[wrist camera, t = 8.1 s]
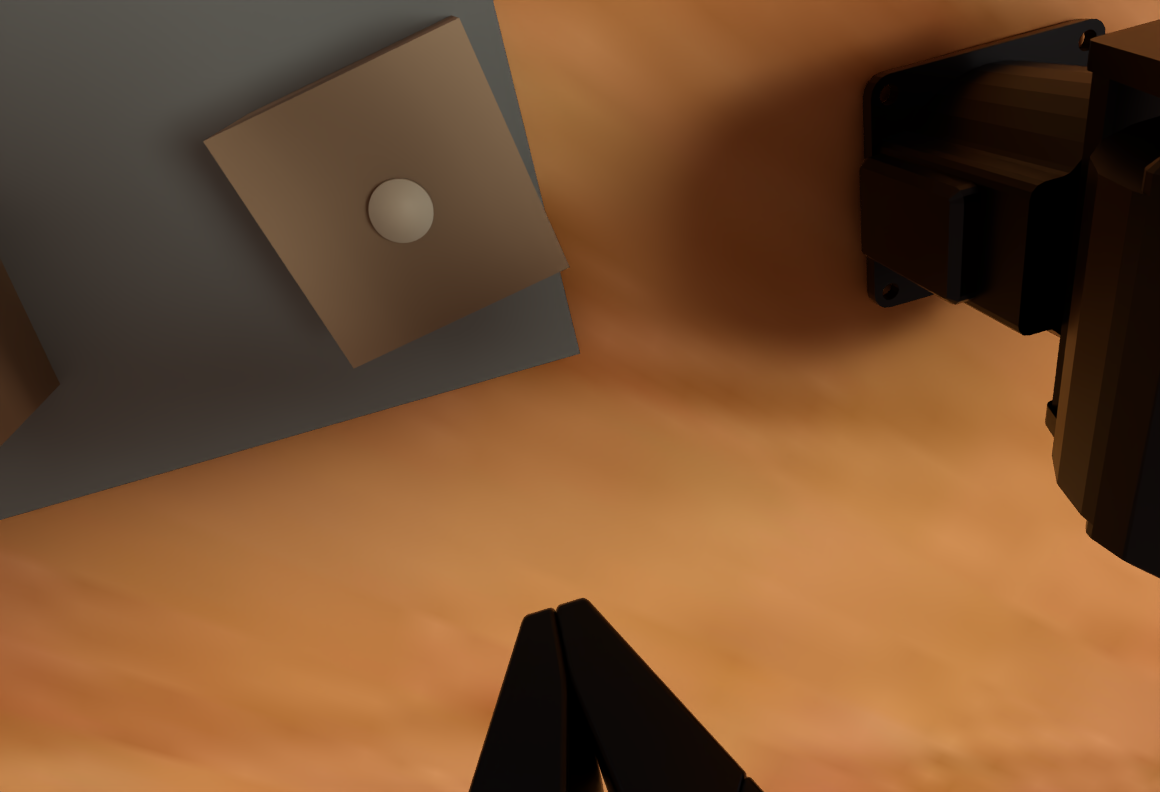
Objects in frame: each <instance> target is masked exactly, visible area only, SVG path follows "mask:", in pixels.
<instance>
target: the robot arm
mask: <svg viewBox="0 0 1160 792" xmlns="http://www.w3.org/2000/svg"><path fill="white" fill-rule="evenodd" d="M1083 33H1084V35H1085V38H1084V41H1083V44H1082V45H1081V46H1080V47H1079V40H1080V37H1081V36H1082V34H1083ZM886 85H889V88H890V93H889V97H888V98H887V99H886V101H884V102H881V100H880V94H881V91H882V89H883V88H884V86H886ZM863 127H864V161H863V163H862V165H861V167H860V170H859V173H860V208H861V244H862V252H863V253H864V254H865V255H866V256H867V291H868V296H869V298H870V299H871V300H872V301H873V302H875V303H876V304H878V305H879V306H882V307H885V308H886V307H893V306H896V305H899V304H903V303H906V302H910V301H913V300H917V299H920V298H924V297H927V296H930V295H934V294H935V295H937V296H938V297H940V298H942V299H944V300H945V301H947V302H949V303H951V304H955V305H956V304H959V303H965V304H967V305H969V306H971V307H973V308H974V309H976V310H978V311H980V312H982V313H984V314H985V315H987V316H989V317H991V318H993V319H995V320H996V321H998V322H1000V323H1002V324H1004V325H1005V326H1007V327H1009V328H1011V329H1013V330H1015V331H1016V332H1018V333H1020V334H1022V335H1032V334H1036V333H1039V332H1042V331H1046V330H1047V331H1049V332H1050V333H1052V334H1054V335H1056V336H1058V337H1060V343H1059V352H1058V360H1057V368H1056V376H1055V384H1054V393H1053V400H1052V401H1049V402H1048V404H1047V410H1046V418H1045V424H1046V426H1047V428H1048V429H1049V431H1050V432H1051V434H1052V435H1053V437H1054V442H1053V450H1052V459H1053V464H1054V470H1055V475H1056V481H1057V484H1058V486H1059V487H1060V488H1061V490H1062V491H1063V492H1064V493H1065V495H1066V496H1067V497H1068V499H1069V500H1070V501H1071V503H1072V504H1073V505H1074V507H1075V508H1076V509H1077V510H1078V512H1079V513H1080V514H1081V515H1082V516H1083V517H1084V518H1085V519H1086V520H1087V522H1086V533H1087V534H1088V535H1089V537H1090V538H1091V539H1093V540H1094V541H1096V542H1097V543H1099V544H1100V545H1102V546H1103V547H1104V548H1106V549H1107V550H1109V551H1110V552H1112V553H1113V554H1115V555H1116V556H1118V557H1119V558H1120V559H1122V560H1124V561H1125V562H1127V563H1129V564H1131V565H1133V566H1135V567H1137V568H1139V569H1141V570H1143V571H1145V572H1147V573H1149V574H1152V575H1154V576H1156V577H1158V578H1160V20H1156V21H1153V22H1149V23H1145V24H1142V25H1138V26H1134V27H1130V28H1127V29H1123V30H1119V31H1116V32H1112V33H1108V34H1105V27H1104V25H1103V23H1102V22H1101V21H1099V20H1098V19H1076V20H1072V21H1069V22H1065V23H1061V24H1058V25H1054V26H1050V27H1047V28H1043V29H1039V30H1036V31H1032V32H1028V33H1024V34H1021V35H1017V36H1013V37H1010V38H1006V39H1002V40H999V41H995V42H991V43H988V44H984V45H980V46H976V47H973V48H969V49H965V50H962V51H958V52H954V53H951V54H947V55H943V56H939V57H936V58H932V59H928V60H925V61H921V62H917V63H914V64H910V65H906V66H903V67H899V68H895V69H891V70H888V71H884V72H880V73H878V74H876V75H874V76H873V77H872V78H871V79H870V80H869V81H868V83H867V85H866V87H865V89H864V93H863ZM890 283H891V289H890V290H889V291H888V293H886V294H884V295H883V290H884V288H885V287H886V286H887V285H889V284H890ZM599 767H600V769H599ZM600 770H601V773H602V776H603V779H604V782H605V785H606V787H607V790H608V792H764V791H763V790H762V789H761V788H760V787H759V786H758V785H757V784H756V783H755V782H754V780H753V779H752V778H750V777H747V776H746V773H745V771H744V770H743V769H742V768H741V767H740V766H739V765H738V763H737V762H736V761H735V760H734V759H733V758H732V757H731V756H730V755H729V754H728V752H727V751H726V750H725V749H724V748H723V747H722V746H721V745H720V744H719V743H718V742H717V740H716V739H715V738H714V737H713V736H712V735H711V734H710V733H709V732H708V731H707V729H706V728H705V727H704V726H703V725H702V724H701V723H700V722H699V721H698V720H697V719H696V717H695V716H694V715H693V714H692V713H691V712H690V711H689V710H688V709H687V708H686V706H685V705H684V704H683V703H682V702H681V701H680V700H679V699H678V698H677V697H676V696H675V694H674V693H673V692H672V691H671V690H670V689H669V688H668V687H667V686H666V685H665V683H664V682H663V681H662V680H661V679H660V678H659V677H658V676H657V675H656V674H655V673H654V671H653V670H652V669H651V668H650V667H649V666H648V665H647V664H646V663H645V662H644V660H643V659H642V658H641V657H640V656H639V655H638V654H637V653H636V652H635V651H634V650H633V648H632V647H631V646H630V645H629V644H628V643H627V642H626V641H625V640H624V639H623V637H622V636H621V635H620V634H619V633H618V632H617V631H616V630H615V629H614V628H613V627H612V625H611V624H610V623H609V622H608V621H607V620H606V619H605V618H604V617H603V616H602V614H601V613H600V612H599V611H598V610H597V609H596V608H595V607H594V606H593V605H592V604H591V602H590V601H589V600H587V599H585V598H580V599H577V600H573V601H570V602H567V603H564V604H560V605H559V606H558V607H557V609H556V611H555V610H554V609H553V608H547V609H544V610H541V611H538V612H535V613H531V614H528V615H526V616H525V617H524V618H523V620H522V623H521V626H520V629H519V633H518V636H517V639H516V642H515V645H514V649H513V652H512V655H511V658H510V661H509V665H508V668H507V671H506V674H505V677H504V680H503V684H502V687H501V690H500V693H499V696H498V700H497V703H496V706H495V709H494V712H493V716H492V719H491V722H490V725H489V728H488V732H487V735H486V738H485V741H484V744H483V748H482V751H481V754H480V757H479V760H478V763H477V767H476V770H475V773H474V776H473V779H472V783H471V786H470V789H469V792H604V790H603V784H602V778H601V773H600Z"/></svg>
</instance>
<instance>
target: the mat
mask: <svg viewBox="0 0 1160 792" xmlns="http://www.w3.org/2000/svg"><path fill="white" fill-rule="evenodd" d="M451 15H452V16H455V17H458V18H459V19H460V21H461V23H462V25H463V28H464V30H465V32H466V34H467V37H468V39H469V41H470V43H471V46H472V48H473V50H474V52H475V55H476V57H477V59H478V61H479V64H480V66H481V68H482V70H483V73H484V75H485V77H486V79H487V82H488V84H489V86H490V88H491V91H492V93H493V95H494V97H495V100H496V102H497V104H498V106H499V109H500V111H501V113H502V115H503V118H504V120H505V122H506V125H507V127H508V129H509V131H510V134H511V136H512V138H513V140H514V143H515V145H516V147H517V149H518V152H519V154H520V156H521V158H522V161H523V163H524V165H525V167H526V170H527V172H528V174H529V176H530V179H531V181H532V183H533V185H534V188H535V190H536V192H537V194H538V197H539V199H540V201H541V203H542V206H543V201H542V197H541V193H540V189H539V185H538V181H537V177H536V173H535V169H534V165H533V161H532V157H531V153H530V149H529V145H528V141H527V137H526V133H525V129H524V125H523V121H522V116H521V112H520V108H519V104H518V100H517V96H516V92H515V88H514V84H513V80H512V76H511V72H510V68H509V64H508V60H507V56H506V52H505V48H504V44H503V40H502V36H501V31H500V27H499V23H498V19H497V15H496V11H495V7H494V3H493V0H0V259H1V261H2V263H3V265H4V267H5V269H6V271H7V274H8V276H9V278H10V280H11V282H12V284H13V286H14V288H15V290H16V292H17V295H18V297H19V299H20V301H21V303H22V305H23V307H24V309H25V311H26V313H27V316H28V318H29V320H30V322H31V324H32V326H33V328H34V330H35V332H36V334H37V337H38V339H39V341H40V343H41V345H42V347H43V349H44V351H45V353H46V355H47V358H48V360H49V362H50V364H51V366H52V368H53V370H54V372H55V374H56V376H57V379H58V381H59V383H60V385H59V386H58V387H57V388H56V389H55V390H54V391H53V392H52V393H51V394H50V395H49V396H48V398H47V399H46V400H45V401H44V402H43V403H42V404H41V405H40V406H39V407H38V408H37V409H36V410H35V411H34V412H33V413H32V414H31V415H30V416H29V417H28V418H27V419H26V420H25V421H24V422H23V424H22V425H21V426H20V427H19V428H18V429H17V430H16V431H15V432H14V433H13V434H12V435H11V436H10V437H9V438H8V439H7V440H6V441H5V442H4V443H3V444H2V445H1V446H0V520H1V519H5V518H8V517H12V516H15V515H19V514H22V513H26V512H29V511H33V510H36V509H40V508H43V507H47V506H50V505H54V504H57V503H61V502H64V501H68V500H71V499H75V498H78V497H82V496H85V495H89V494H92V493H95V492H99V491H102V490H106V489H109V488H113V487H116V486H120V485H123V484H127V483H130V482H134V481H137V480H141V479H144V478H148V477H151V476H155V475H158V474H162V473H165V472H169V471H172V470H176V469H179V468H183V467H186V466H190V465H193V464H197V463H200V462H204V461H207V460H211V459H214V458H217V457H221V456H224V455H228V454H231V453H235V452H238V451H242V450H245V449H249V448H252V447H256V446H259V445H263V444H266V443H270V442H273V441H277V440H280V439H284V438H287V437H291V436H294V435H298V434H301V433H305V432H308V431H312V430H315V429H319V428H322V427H326V426H329V425H333V424H336V423H339V422H343V421H346V420H350V419H353V418H357V417H360V416H364V415H367V414H371V413H374V412H378V411H381V410H385V409H388V408H392V407H395V406H399V405H402V404H406V403H409V402H413V401H416V400H420V399H423V398H427V397H430V396H434V395H437V394H441V393H444V392H448V391H451V390H455V389H458V388H461V387H465V386H468V385H472V384H475V383H479V382H482V381H486V380H489V379H493V378H496V377H500V376H503V375H507V374H510V373H514V372H517V371H521V370H524V369H528V368H531V367H535V366H538V365H542V364H545V363H549V362H552V361H556V360H559V359H563V358H566V357H570V356H573V355H577V354H580V351H579V347H578V343H577V339H576V335H575V331H574V327H573V323H572V319H571V315H570V311H569V307H568V303H567V299H566V295H565V291H564V286H563V282H562V278H561V274H560V272H558V273H556V274H554V275H552V276H550V277H548V278H546V279H544V280H541V281H539V282H537V283H535V284H533V285H531V286H529V287H527V288H524V289H522V290H520V291H518V292H516V293H514V294H512V295H509V296H507V297H505V298H503V299H501V300H499V301H497V302H495V303H492V304H490V305H488V306H486V307H484V308H482V309H480V310H478V311H475V312H473V313H471V314H469V315H467V316H465V317H463V318H461V319H458V320H456V321H454V322H452V323H450V324H448V325H446V326H443V327H441V328H439V329H437V330H435V331H433V332H431V333H429V334H426V335H424V336H422V337H420V338H418V339H416V340H414V341H412V342H409V343H407V344H405V345H403V346H401V347H399V348H397V349H395V350H392V351H390V352H388V353H386V354H384V355H382V356H380V357H377V358H375V359H373V360H371V361H369V362H367V363H365V364H363V365H360V366H358V367H356V368H353V367H352V365H351V364H350V362H349V361H348V359H347V357H346V356H345V354H344V353H343V351H342V350H341V348H340V347H339V345H338V344H337V342H336V341H335V339H334V338H333V336H332V335H331V333H330V332H329V330H328V329H327V327H326V326H325V324H324V323H323V321H322V320H321V318H320V317H319V315H318V314H317V312H316V311H315V309H314V308H313V306H312V305H311V303H310V302H309V300H308V299H307V297H306V296H305V294H304V293H303V291H302V290H301V288H300V287H299V285H298V284H297V282H296V281H295V279H294V278H293V276H292V275H291V273H290V272H289V270H288V269H287V267H286V266H285V264H284V263H283V261H282V260H281V258H280V257H279V255H278V254H277V252H276V250H275V249H274V247H273V246H272V244H271V243H270V241H269V240H268V238H267V237H266V235H265V234H264V232H263V231H262V229H261V228H260V226H259V225H258V223H257V222H256V220H255V219H254V217H253V216H252V214H251V213H250V211H249V210H248V208H247V207H246V205H245V204H244V202H243V201H242V199H241V198H240V196H239V195H238V193H237V192H236V190H235V189H234V187H233V186H232V184H231V183H230V181H229V180H228V178H227V177H226V175H225V174H224V172H223V171H222V169H221V168H220V166H219V165H218V163H217V162H216V160H215V159H214V157H213V156H212V154H211V153H210V151H209V150H208V148H207V147H206V145H205V143H204V142H203V141H205V140H206V139H208V138H209V137H211V136H213V135H214V134H216V133H218V132H219V131H221V130H223V129H224V128H226V127H227V126H229V125H231V124H232V123H234V122H236V121H237V120H239V119H241V118H242V117H244V116H245V115H247V114H249V113H251V112H253V111H255V110H257V109H259V108H261V107H263V106H265V105H267V104H269V103H271V102H273V101H275V100H277V99H280V98H282V97H284V96H286V95H288V94H290V93H292V92H294V91H296V90H298V89H300V88H302V87H304V86H306V85H309V84H311V83H313V82H315V81H317V80H319V79H321V78H323V77H325V76H327V75H329V74H331V73H333V72H335V71H338V70H340V69H342V68H344V67H346V66H348V65H350V64H352V63H354V62H356V61H358V60H360V59H362V58H364V57H366V56H369V55H371V54H373V53H375V52H377V51H379V50H381V49H383V48H385V47H387V46H389V45H391V44H393V43H395V42H398V41H400V40H402V39H404V38H406V37H408V36H410V35H412V34H414V33H416V32H418V31H420V30H422V29H424V28H426V27H429V26H431V25H433V24H435V23H437V22H439V21H441V20H443V19H445V18H447V17H449V16H451ZM543 208H544V206H543Z"/></svg>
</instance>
